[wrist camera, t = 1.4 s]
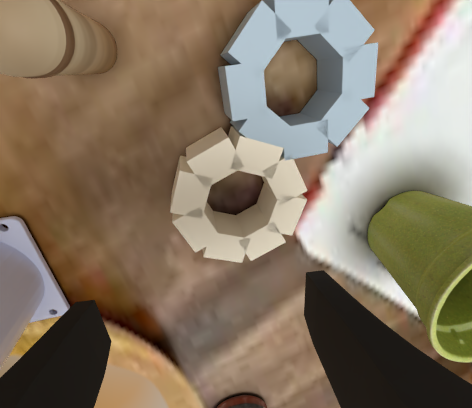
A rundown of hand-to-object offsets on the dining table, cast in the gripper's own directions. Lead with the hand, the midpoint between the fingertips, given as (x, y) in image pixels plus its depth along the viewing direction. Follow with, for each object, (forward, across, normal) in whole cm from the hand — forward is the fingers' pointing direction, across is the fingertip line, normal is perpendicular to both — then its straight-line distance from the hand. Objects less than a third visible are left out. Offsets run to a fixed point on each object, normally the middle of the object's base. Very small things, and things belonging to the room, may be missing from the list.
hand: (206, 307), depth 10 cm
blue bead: (+10, -6, -6) cm, 13 cm away
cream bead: (+10, -2, 0) cm, 10 cm away
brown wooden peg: (+10, +5, -9) cm, 14 cm away
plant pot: (+11, -15, +5) cm, 20 cm away
